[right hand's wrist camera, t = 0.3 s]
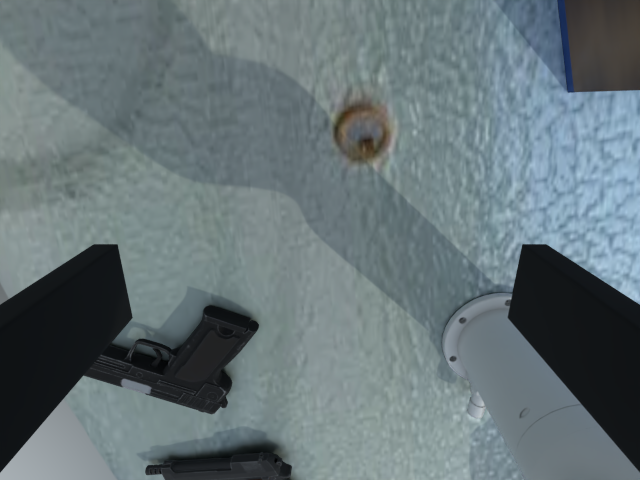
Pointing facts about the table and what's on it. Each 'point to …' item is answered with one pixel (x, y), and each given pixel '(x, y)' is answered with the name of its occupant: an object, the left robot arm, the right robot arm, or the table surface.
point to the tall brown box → (601, 44)
